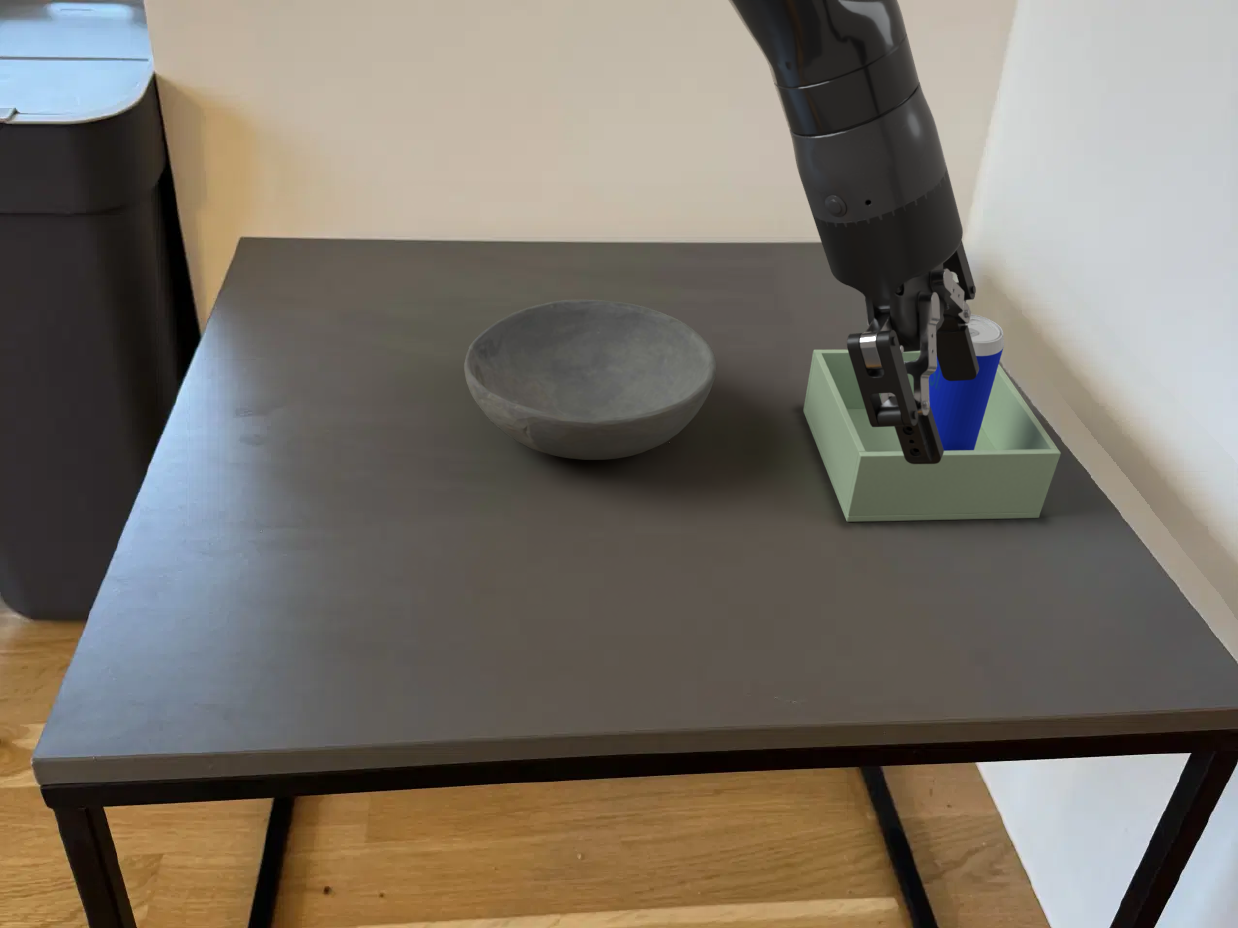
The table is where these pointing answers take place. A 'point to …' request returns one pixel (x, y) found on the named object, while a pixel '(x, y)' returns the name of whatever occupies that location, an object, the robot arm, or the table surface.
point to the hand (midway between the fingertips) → (944, 417)
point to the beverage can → (967, 389)
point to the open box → (952, 489)
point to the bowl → (590, 377)
